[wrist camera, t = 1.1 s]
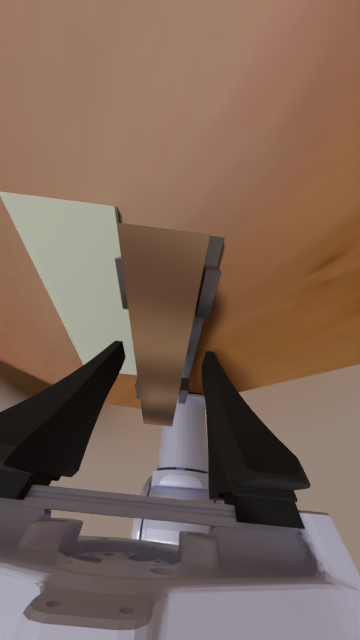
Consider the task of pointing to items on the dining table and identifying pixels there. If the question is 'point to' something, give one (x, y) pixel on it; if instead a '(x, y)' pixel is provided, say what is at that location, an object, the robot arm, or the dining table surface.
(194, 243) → the rail
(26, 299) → the dining table surface
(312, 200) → the dining table surface
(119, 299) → the mat
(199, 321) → the rack
